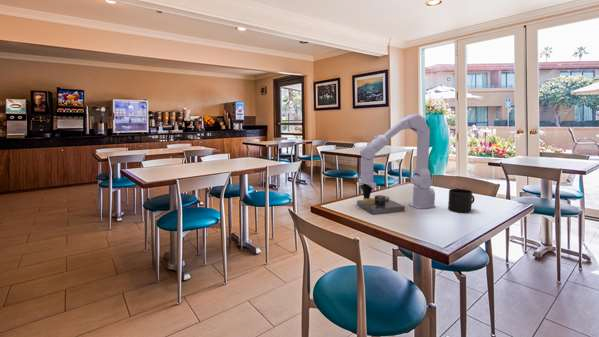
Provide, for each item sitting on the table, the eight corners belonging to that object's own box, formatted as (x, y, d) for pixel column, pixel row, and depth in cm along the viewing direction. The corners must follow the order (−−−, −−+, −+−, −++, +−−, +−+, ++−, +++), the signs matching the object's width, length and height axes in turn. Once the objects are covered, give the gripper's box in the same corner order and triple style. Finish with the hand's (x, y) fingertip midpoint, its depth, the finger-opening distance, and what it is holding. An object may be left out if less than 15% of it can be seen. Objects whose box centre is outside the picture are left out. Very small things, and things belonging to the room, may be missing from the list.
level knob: (384, 201, 152) (385, 195, 152) (386, 204, 148) (386, 197, 147) (363, 200, 154) (363, 194, 154) (363, 203, 149) (363, 197, 149)
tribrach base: (386, 202, 161) (386, 194, 160) (404, 211, 145) (404, 202, 145) (356, 205, 156) (357, 196, 156) (372, 214, 141) (372, 205, 140)
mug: (481, 212, 143) (482, 192, 141) (457, 213, 141) (458, 193, 139) (466, 206, 152) (467, 187, 151) (443, 208, 150) (444, 189, 148)
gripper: (352, 170, 156) (352, 197, 158) (366, 174, 142) (365, 204, 144) (365, 169, 158) (365, 195, 160) (380, 173, 144) (380, 203, 146)
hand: (366, 199), depth 152 cm, fingers closed, pressing on level knob
